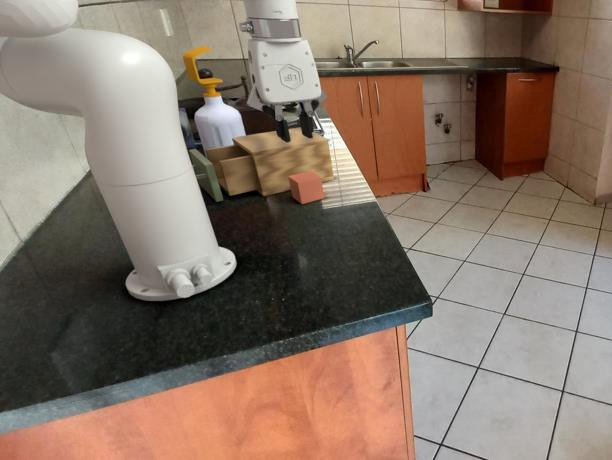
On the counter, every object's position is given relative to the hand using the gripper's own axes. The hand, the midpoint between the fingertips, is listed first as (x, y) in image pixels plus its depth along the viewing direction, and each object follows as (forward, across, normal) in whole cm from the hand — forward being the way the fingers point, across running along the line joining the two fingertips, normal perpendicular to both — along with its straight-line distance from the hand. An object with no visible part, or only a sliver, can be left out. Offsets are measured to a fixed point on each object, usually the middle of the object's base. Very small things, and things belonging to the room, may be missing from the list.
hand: (296, 137), depth 79 cm
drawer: (+11, -10, +12) cm, 19 cm away
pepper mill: (+12, +4, +47) cm, 49 cm away
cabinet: (+12, +1, +12) cm, 17 cm away
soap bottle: (+12, -4, +35) cm, 37 cm away
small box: (+12, -14, +45) cm, 49 cm away
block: (+12, 0, 0) cm, 12 cm away
